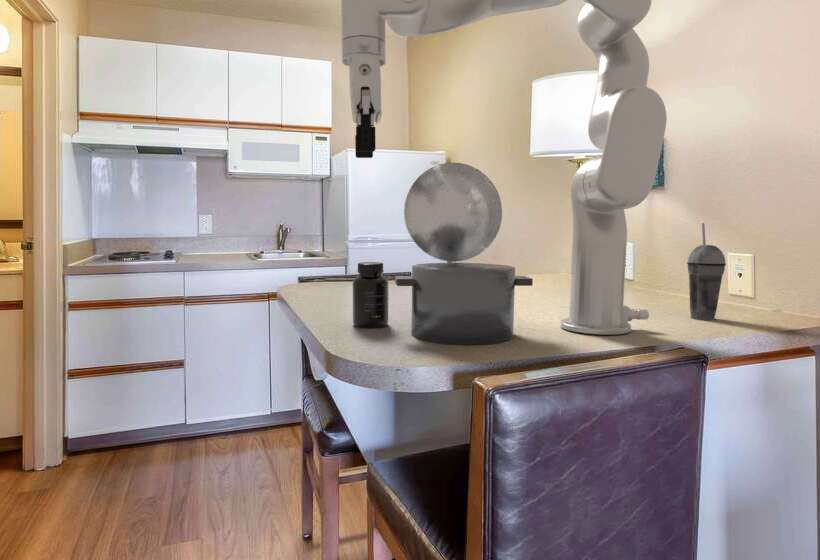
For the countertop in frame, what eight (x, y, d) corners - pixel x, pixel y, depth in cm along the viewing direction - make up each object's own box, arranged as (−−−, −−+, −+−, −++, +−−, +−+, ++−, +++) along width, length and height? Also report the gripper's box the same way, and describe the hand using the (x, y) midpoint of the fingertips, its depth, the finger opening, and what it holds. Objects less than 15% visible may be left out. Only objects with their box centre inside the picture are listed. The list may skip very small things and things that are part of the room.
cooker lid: (501, 261, 108) (498, 261, 111) (502, 163, 107) (498, 166, 110) (404, 261, 106) (403, 261, 109) (404, 161, 106) (403, 164, 108)
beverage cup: (729, 321, 113) (736, 223, 111) (693, 321, 113) (700, 223, 111) (710, 315, 121) (717, 223, 118) (677, 315, 121) (682, 222, 118)
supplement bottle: (348, 323, 108) (347, 261, 107) (381, 321, 111) (381, 261, 109) (359, 329, 102) (359, 264, 100) (393, 327, 104) (394, 263, 103)
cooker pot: (512, 323, 109) (514, 262, 108) (543, 344, 91) (545, 271, 90) (392, 324, 107) (392, 262, 105) (399, 346, 89) (400, 271, 87)
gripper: (389, 38, 88) (389, 148, 90) (382, 68, 105) (383, 160, 107) (341, 37, 87) (343, 148, 89) (342, 67, 104) (344, 159, 106)
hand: (365, 154), depth 98 cm, fingers open, 9 cm apart
